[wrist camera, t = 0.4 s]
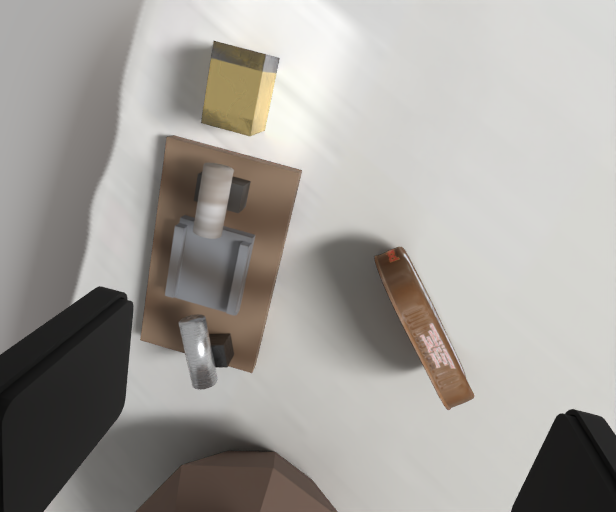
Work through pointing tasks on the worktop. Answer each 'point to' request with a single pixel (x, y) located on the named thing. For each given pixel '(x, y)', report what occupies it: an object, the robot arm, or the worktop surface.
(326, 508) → the brown cooking pot
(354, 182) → the worktop surface
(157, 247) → the rig
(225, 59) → the coupler
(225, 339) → the shaft
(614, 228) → the worktop surface
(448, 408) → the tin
